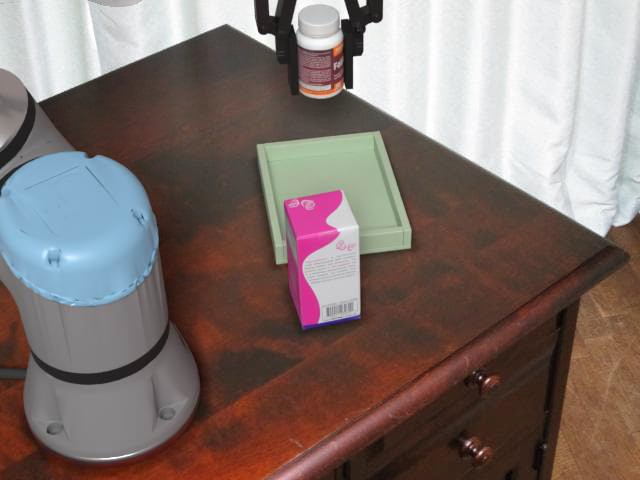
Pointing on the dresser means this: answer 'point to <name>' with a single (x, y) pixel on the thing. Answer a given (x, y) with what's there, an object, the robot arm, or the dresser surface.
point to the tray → (336, 186)
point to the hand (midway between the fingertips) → (320, 84)
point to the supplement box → (323, 259)
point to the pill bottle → (320, 51)
